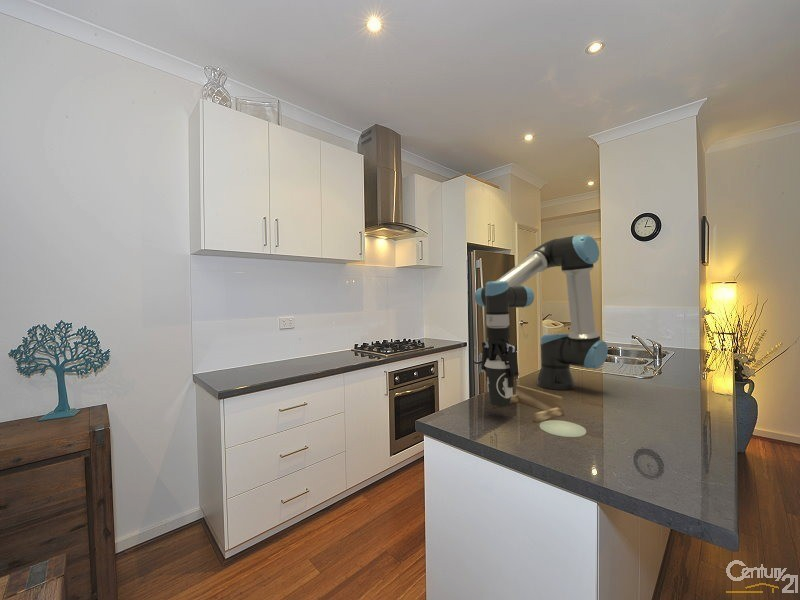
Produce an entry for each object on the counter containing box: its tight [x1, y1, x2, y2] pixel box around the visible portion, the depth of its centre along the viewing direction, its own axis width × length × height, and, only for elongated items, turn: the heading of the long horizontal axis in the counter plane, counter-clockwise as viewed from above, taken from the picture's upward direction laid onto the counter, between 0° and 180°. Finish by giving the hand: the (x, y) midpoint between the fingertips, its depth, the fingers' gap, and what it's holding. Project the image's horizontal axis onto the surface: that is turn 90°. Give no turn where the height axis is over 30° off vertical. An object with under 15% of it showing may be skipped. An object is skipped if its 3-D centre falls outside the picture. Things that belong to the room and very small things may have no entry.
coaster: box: [539, 419, 587, 438], centre depth 107 cm, size 13×13×1 cm
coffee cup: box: [484, 356, 511, 408], centre depth 118 cm, size 10×10×15 cm
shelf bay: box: [492, 384, 564, 423], centre depth 124 cm, size 14×19×6 cm
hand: (499, 393), depth 118 cm, fingers closed on coffee cup, 7 cm apart
